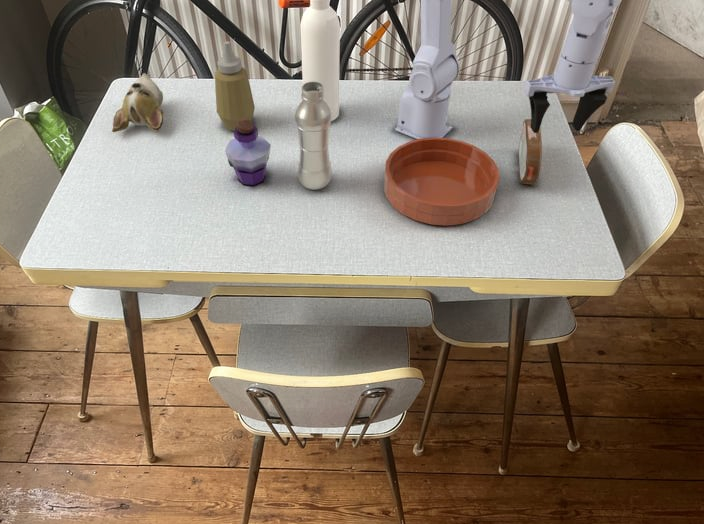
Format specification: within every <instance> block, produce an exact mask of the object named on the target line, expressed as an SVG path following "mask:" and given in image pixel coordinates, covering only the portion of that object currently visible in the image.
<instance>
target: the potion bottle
mask: <svg viewBox="0 0 704 524" xmlns="http://www.w3.org/2000/svg"><path fill="white" fill-rule="evenodd" d="M258 129H259V128H258V127H257V126H256V125H254V122H253V120H252V121H250V120H246V119H245V120H241V121H239V122H238V123H237V126H236V128H235V130H234V131H233V139H230V140H229V141H228V144H227V145H226V147H225V149H224V153H225V155H226V158H227V162H228V165H229V167H231V168H232V169H233V170H234V172H235V175H236V177H237V181H238V182H239V183H240V184H241V185H242V186H244V187H256V186H259V185H261V184H263V183H264V182H265V179H266V177H267V175H266V171H267V167H268V166H267V165H268V162H269V159H270V153H271V147H272V144H271V143H270V142H269V141H267V139H265V137H263V136H262V135H259V130H258Z"/></svg>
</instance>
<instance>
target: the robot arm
mask: <svg viewBox="0 0 704 524" xmlns="http://www.w3.org/2000/svg"><path fill="white" fill-rule="evenodd" d="M452 1H453V0H420V47H419V49H418V50H417V53H416V55H415V57H414V59H413V61H412V71H411V74H410V75H409V78H408V85H407V86H406V87H405V89H404V90H403V91H402V93H401V96H400V100H399V106H398V108H399V109H398V118H397V126H396V127H395V131H396V132H398V133H401V134H403V135H406V136H409V137H410V138H413V139H415V140H417V139H421V138H432V137H438V138H445V136H446V135H447V134H448V133H449V132H451V130H452V129H453V126H452V125H449V124H447V123H446V122H447V116H448V111H449V106H450V100H451V99H450V98H451V94H452V85H453V82H454V81H456V80H457V79H458V77H459V75H460V71H461V65H460V62H459V59H458V56H457V46H456V45H455V44H454V43H453V42H452V40H451V34H452V3H453V2H452ZM622 1H623V0H567V2H569V3H571V4H570V5H571V12H572V15H573V16H572V20H571V23H570V24H569V27H568V31H567V34H566V37H565V40H564V42H563V46H562V50H561V53H560V56H559V58H558V62H557V66H556V68H555V69H556V70H555V72H554V74H550V75H546V76H543V77H539V78H535V79H526V81H525V85H524V88H523V91H524V93H525V95H526V97H528V99H529V106H530V119H531V129H532V131H533V133H538V131H539V129H540V130H541V126H542V123H543V119H544V117H545V114H546V112H547V111H548V109H549V108H550V106H551V103H550V102H549V100H548V94H564V95H570V96H571V97H572V98H579V101H578V106H577V108H576V111H575V113H574V116H573V118H572V123H571V126H572V127H573V128H574V130H575V131H576V132H580V131H581V129H583V126H584V125H585V124H586V122H587V121H588V120H589V119H590V118H591V117H592V115H593V114H594V113H595V112H596V111H597V110H598V109H599V108H601V107H602V106H603V105H604V104H606V102H607V99H608V96H607V95H606V94H611V93H612V92H613V90H614V87H615V85H616V80H614V78H613V77H612V76H611V75H610V76H605V75H604V76H602V75H596V74H595V75H594V72H595V69H596V65H597V63H598V60H599V57H600V55H601V52H602V49H603V46H604V43H605V41H606V38H607V35H608V33H609V27H610V25H611V22H612V19H613V16H614V10H615V9H616V8H618V6H619V5H620V4H621V2H622Z"/></svg>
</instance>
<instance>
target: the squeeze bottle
mask: <svg viewBox="0 0 704 524" xmlns="http://www.w3.org/2000/svg"><path fill="white" fill-rule="evenodd" d="M222 47H223V48H222V56H221V57H219V58H218V59H217V70H216V71H215V73H214V85H215V86H214V87H215V105H216V107H215V108H216V114H217V115H218V117H219V119H220V121H221V123H222V124H223V126H224V128H225V129H226V130H228V131H232V132H234V130H235V128H236V126H237V123H238V122H239V121H241V120H245V119H246V120H250V121H252V122H253V118H254V114H255V101H254V97H253V93H252V88H251V82H250V80H249V79H250V78H249V76H248V75H249V74H248V71H247V69H246V68H245V67H243V66H242V59H241V58H240V57H239V56H237V55H235V54H234V53H235V52H234V51H233V50H234V49H233V48H232V45H231V42H230V41H229V40H226V41H223V46H222Z"/></svg>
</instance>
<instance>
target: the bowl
mask: <svg viewBox="0 0 704 524" xmlns="http://www.w3.org/2000/svg"><path fill="white" fill-rule="evenodd" d="M499 170H500V169H499V167H498V165H497V163H496V162H495V160H494V159H493V158H492V157H491V156H490V155H489V154H488V153H487V152H486V151H484V150H482V149H480V148H479V147H478V146H476V145H474V144H471V143H470V142H469V143H468V142H466V141H463V140H459V139H454V138H450V137H442V138H438V137H432V138H421V139H413V140H410V141H406V142H405V143H403V144H401V145H399V146H397V147H396V148H395V149H394V150H393V151H391V153H389V156H388V157H387V158H386V160H385V168H384V178H383V179H384V180H383V191H384V192H383V193H384V195H385V198H386V199H387V201H388V202H389V203H390V205H391V206H392V207H393V208H394V209H395V210H396V211H398V212H399V213H400V214H402V215H403V216H406V217H408V218H410V219H412V220H414V221H416V222H419V223H425V224H429V225H436V226H455V225H456V226H457V225H462V224H465V223H470V222H473V221H475V220H476V219H478V218H480V217H481V216H483V215H485V214H486V213H487V212H488V211H489V210H490V208H491V207H493V202H494V200H495V198H496V197H495V196H496V193H497V190H498V186H499V182H500V171H499Z"/></svg>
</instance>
